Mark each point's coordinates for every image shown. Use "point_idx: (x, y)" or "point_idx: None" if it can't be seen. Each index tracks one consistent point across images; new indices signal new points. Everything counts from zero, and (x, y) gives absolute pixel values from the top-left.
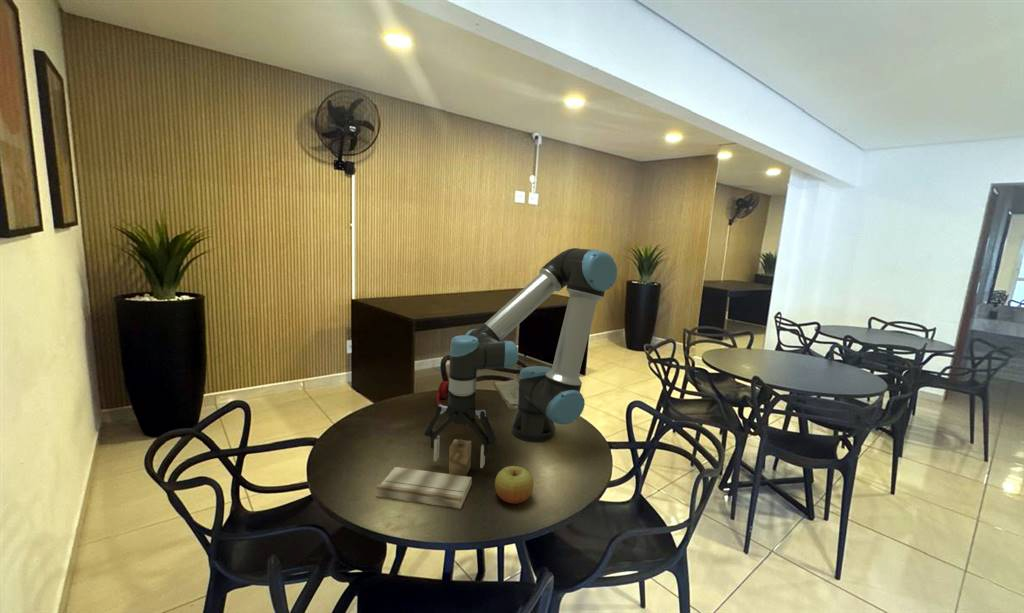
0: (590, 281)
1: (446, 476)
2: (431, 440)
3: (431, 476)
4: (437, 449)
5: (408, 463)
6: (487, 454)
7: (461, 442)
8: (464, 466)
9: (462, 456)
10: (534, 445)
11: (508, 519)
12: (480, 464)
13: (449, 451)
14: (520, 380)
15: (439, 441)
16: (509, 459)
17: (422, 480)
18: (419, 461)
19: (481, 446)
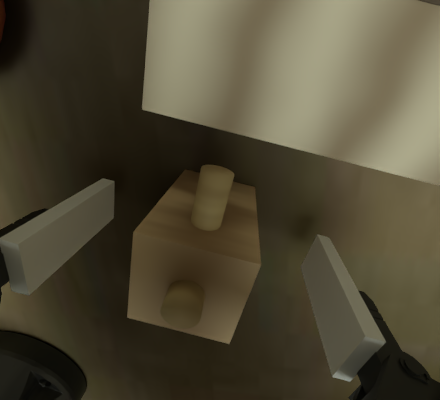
0: None
1: (268, 116)
2: (392, 342)
3: (349, 115)
4: (325, 285)
5: (415, 259)
6: (33, 212)
7: (172, 297)
8: (182, 186)
9: (179, 212)
10: (7, 318)
11: None
12: (104, 186)
13: (258, 245)
14: None
15: (321, 336)
16: None
17: (407, 72)
18: (367, 269)
19: (17, 241)
